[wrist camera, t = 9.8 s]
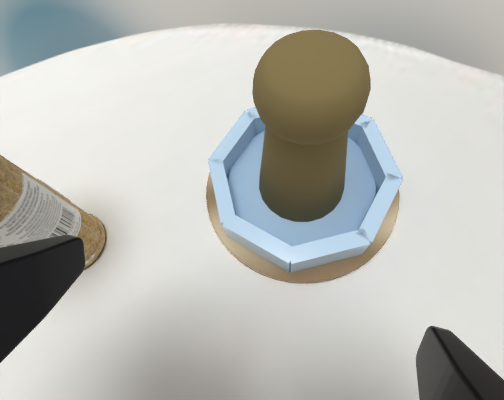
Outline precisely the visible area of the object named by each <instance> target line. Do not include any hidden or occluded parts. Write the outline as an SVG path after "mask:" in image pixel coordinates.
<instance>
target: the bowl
mask: <svg viewBox="0 0 504 400" xmlns="http://www.w3.org/2000/svg"><path fill="white" fill-rule="evenodd" d="M264 133H265V124H264V123H263V122H262V120H261V118H260V117H259V115H258V112H257V109H256V107H254V108H250V109H247V111H244V112H243V114H242V115H241V116H240V118H239V119H238V120H237V122H236V123H235V124H234V126H233V127H232V128H231V130H230V131H229V132H228V134H227V135H226V136H225V138H224V139H223V140H222V142H221V143H220V144H219V146H218V147H217V148H216V150H215V151H214V152H213V154H212V155H211V156H210V158H209V161H208V163H209V168H210V173H211V178H212V183H213V188H214V193H215V198H216V203H217V207H218V212H219V217H220V222H221V225H222V227H223V229H224V231H225V233H226V235H227V236H228V238H230V239H232V240H234V241H235V242H237V243H239V244H240V245H242V246H244V247H246V248H247V249H249V250H251V251H252V252H254V253H256V254H258V255H259V256H261V257H263V258H264V259H266V260H268V261H270V262H271V263H273V264H275V265H276V266H278V267H280V268H282V269H283V270H285V271H287V272H289V271H290V272H291V273H292V272H296V271H300V270H304V269H308V268H312V267H316V266H320V265H324V264H328V263H331V262H335V261H339V260H343V259H347V258H351V257H355V256H359V255H362V253H364V252H365V250H366V249H367V248H368V247H369V246H370V244H371V243H372V242H373V240H374V238H375V236H376V234H377V232H378V230H379V228H380V225H381V223H382V221H383V219H384V217H385V215H386V213H387V211H388V209H389V207H390V205H391V203H392V201H393V199H394V197H395V195H396V193H397V191H398V189H399V187H400V185H401V183H402V181H403V179H402V178H403V176H402V174H401V172H400V170H399V168H398V166H397V164H396V162H395V160H394V158H393V156H392V154H391V152H390V150H389V148H388V146H387V144H386V142H385V140H384V138H383V136H382V134H381V132H380V130H379V128H378V126H377V124H376V122H375V120H372V118H371V117H368V116H366V115H363V114H361V116H360V117H359V118H358V119H357V121H356V122H355V123H354V125H353V126H352V127H351V128H350V130H349V131H348V143H347V157H346V171H345V185H344V191H343V195H342V198H341V201H340V202H339V203H338V205H337V206H336V207H335V209H334V210H333V211H332V212H330V213H329V214H327V215H326V216H324V217H323V218H321V219H317V220H314V221H310V222H294V221H290V220H287V219H284V218H281V217H280V216H278V215H277V214H275V213H274V212H272V211H271V210H270V209H269V208H268V206H267V205H266V204H265V203H264V201H263V200H262V197H261V193H260V190H259V176H260V168H261V159H262V151H263V142H264ZM375 192H376V195H375Z"/></svg>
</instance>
